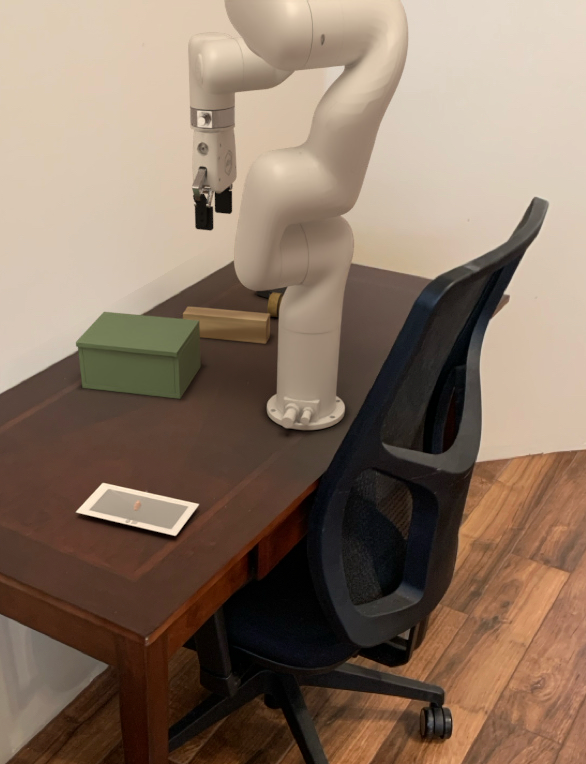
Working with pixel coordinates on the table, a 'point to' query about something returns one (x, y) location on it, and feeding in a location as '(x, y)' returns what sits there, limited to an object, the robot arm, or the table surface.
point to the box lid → (138, 334)
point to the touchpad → (138, 509)
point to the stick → (230, 324)
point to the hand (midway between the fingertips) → (214, 220)
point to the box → (141, 370)
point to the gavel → (274, 304)
